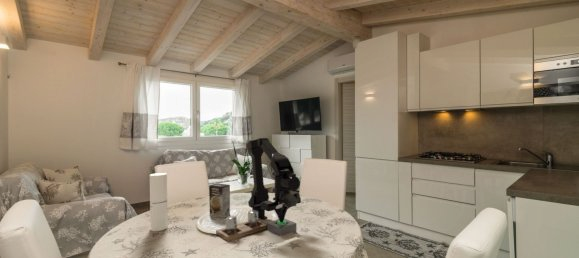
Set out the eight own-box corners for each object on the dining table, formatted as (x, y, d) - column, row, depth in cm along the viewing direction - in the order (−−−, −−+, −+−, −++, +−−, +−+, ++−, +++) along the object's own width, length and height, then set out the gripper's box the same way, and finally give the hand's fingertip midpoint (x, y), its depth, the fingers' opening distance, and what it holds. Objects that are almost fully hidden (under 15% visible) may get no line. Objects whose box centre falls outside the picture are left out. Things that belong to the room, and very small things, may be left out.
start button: (275, 226, 117) (275, 221, 117) (282, 224, 120) (282, 219, 120) (281, 229, 114) (281, 224, 114) (288, 226, 117) (288, 222, 117)
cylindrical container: (160, 231, 119) (159, 175, 119) (146, 230, 121) (145, 175, 121) (171, 225, 126) (170, 173, 126) (157, 224, 128) (156, 172, 128)
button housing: (267, 232, 117) (267, 222, 117) (283, 226, 123) (282, 218, 123) (280, 238, 110) (280, 228, 110) (296, 232, 116) (296, 223, 116)
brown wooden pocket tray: (216, 236, 113) (216, 230, 113) (255, 224, 127) (255, 219, 127) (227, 243, 106) (227, 237, 106) (268, 230, 119) (268, 224, 119)
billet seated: (224, 234, 113) (224, 217, 113) (233, 231, 116) (233, 215, 116) (229, 237, 110) (229, 220, 109) (238, 234, 112) (238, 217, 112)
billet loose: (246, 227, 120) (246, 211, 120) (254, 225, 123) (254, 209, 123) (251, 230, 117) (251, 214, 117) (260, 227, 120) (259, 211, 120)
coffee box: (209, 215, 140) (208, 185, 140) (217, 212, 146) (217, 182, 145) (222, 218, 136) (221, 186, 135) (230, 214, 141) (230, 184, 141)
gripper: (276, 193, 104) (276, 233, 105) (309, 185, 117) (309, 221, 117) (259, 188, 113) (260, 225, 113) (292, 182, 125) (292, 215, 125)
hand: (281, 221), depth 117 cm, fingers closed, pressing on start button
